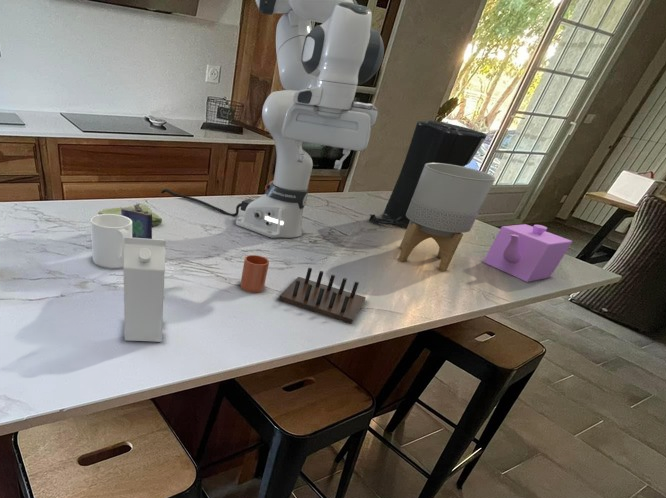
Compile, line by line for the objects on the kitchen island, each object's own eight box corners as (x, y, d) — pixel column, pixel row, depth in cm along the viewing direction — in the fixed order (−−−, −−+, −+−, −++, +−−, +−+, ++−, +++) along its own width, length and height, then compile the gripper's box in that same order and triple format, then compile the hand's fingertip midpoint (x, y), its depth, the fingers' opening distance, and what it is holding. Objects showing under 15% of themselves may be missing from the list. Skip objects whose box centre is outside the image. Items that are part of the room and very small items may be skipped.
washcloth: (96, 216, 137) (95, 206, 135) (147, 213, 145) (148, 203, 143) (110, 231, 128) (109, 220, 126) (164, 227, 136) (164, 216, 134)
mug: (85, 257, 112) (83, 216, 106) (119, 250, 117) (119, 212, 111) (110, 275, 105) (108, 233, 99) (145, 268, 110) (145, 228, 104)
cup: (236, 287, 107) (240, 260, 103) (246, 280, 111) (250, 253, 107) (258, 295, 105) (263, 267, 101) (267, 286, 110) (272, 259, 105)
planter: (379, 248, 141) (411, 162, 125) (421, 245, 148) (456, 163, 132) (421, 273, 128) (463, 179, 112) (465, 268, 135) (510, 180, 119)
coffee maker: (453, 226, 173) (497, 130, 152) (420, 240, 153) (465, 132, 133) (401, 209, 184) (435, 118, 164) (363, 220, 165) (397, 118, 144)
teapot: (469, 263, 139) (491, 219, 131) (514, 257, 150) (538, 216, 141) (512, 284, 129) (540, 238, 121) (558, 275, 140) (586, 232, 131)
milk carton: (126, 322, 89) (125, 230, 77) (161, 323, 90) (165, 233, 78) (124, 341, 83) (122, 245, 72) (161, 342, 84) (165, 247, 73)
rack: (278, 299, 104) (283, 280, 101) (297, 280, 115) (302, 262, 111) (351, 324, 99) (358, 303, 96) (364, 301, 109) (371, 282, 106)
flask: (119, 240, 123) (119, 201, 116) (124, 237, 125) (124, 199, 119) (149, 248, 121) (150, 208, 115) (153, 244, 124) (155, 206, 117)
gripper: (381, 104, 97) (362, 171, 105) (293, 91, 102) (281, 156, 110) (379, 105, 92) (359, 175, 100) (287, 92, 97) (275, 159, 106)
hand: (317, 165), depth 105 cm, fingers open, 8 cm apart
